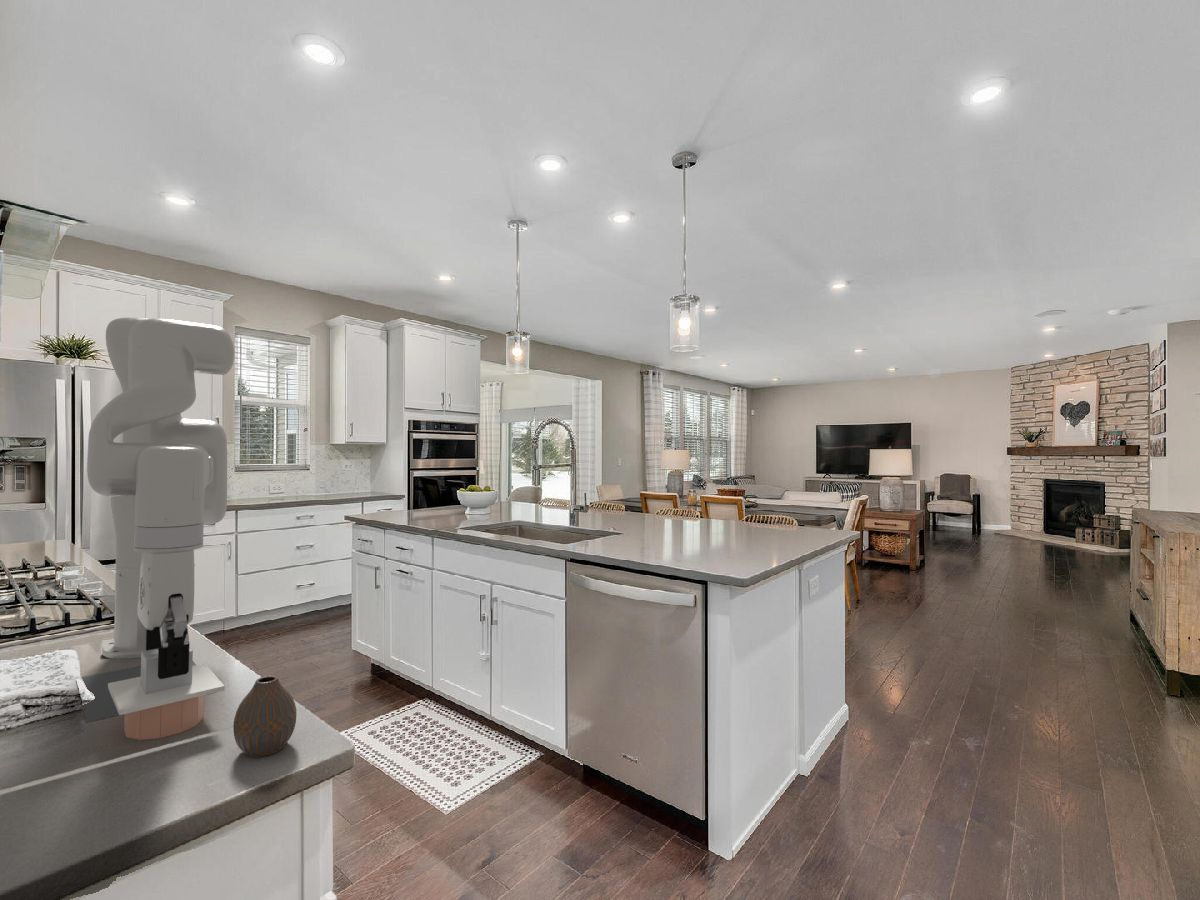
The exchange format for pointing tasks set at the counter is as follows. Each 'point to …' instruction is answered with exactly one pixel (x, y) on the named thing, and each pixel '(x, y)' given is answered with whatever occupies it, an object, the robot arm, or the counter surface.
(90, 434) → the robot arm
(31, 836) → the counter surface
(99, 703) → the mat
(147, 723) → the bowl
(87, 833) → the counter surface
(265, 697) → the vase
